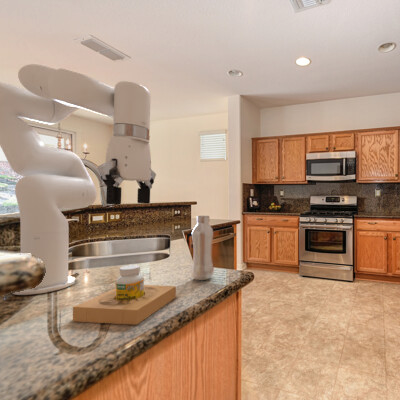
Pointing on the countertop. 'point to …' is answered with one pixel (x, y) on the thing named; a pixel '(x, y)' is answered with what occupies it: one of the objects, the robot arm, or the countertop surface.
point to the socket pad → (124, 306)
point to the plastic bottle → (202, 249)
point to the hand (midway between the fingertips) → (129, 203)
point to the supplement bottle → (129, 283)
